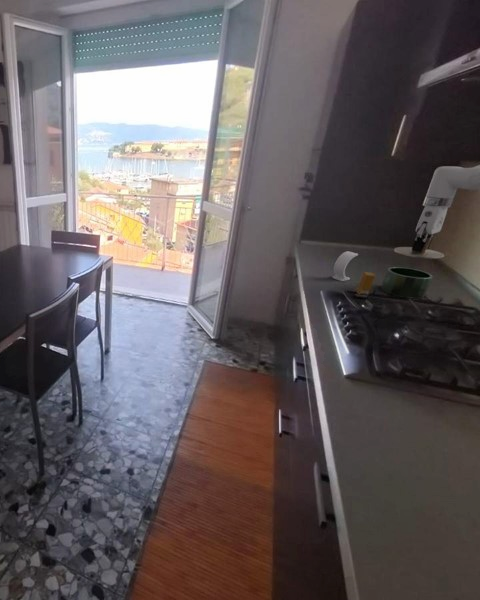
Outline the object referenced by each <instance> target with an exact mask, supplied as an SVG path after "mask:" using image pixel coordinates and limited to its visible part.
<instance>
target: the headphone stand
mask: <svg viewBox="0 0 480 600" xmlns="http://www.w3.org/2000/svg"><path fill="white" fill-rule="evenodd" d="M358 256H359V253H356V252H352V251H349V250H348V251H344V252H343V253H342V254H340V255H339V257H338V258H337V259H336V261H335V263H334V265H333V274H334V275H332V277H331V278H332V279H335V280H337V281H340V282H345V281H350V280H351V277H348V276H346V268H347V266H348V264H349V263H350V261H351V260H353V258H355V257H358Z"/></svg>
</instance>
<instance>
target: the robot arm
mask: <svg viewBox="0 0 480 600" xmlns="http://www.w3.org/2000/svg"><path fill="white" fill-rule="evenodd" d="M458 189H462V190H469V191H478V190H480V164H479V165H476V166H473V167H461V166H454V165H453V166H451V165H450V166H449V165H447V166H446V165H445V166H443V165H442V166H438V167H437V168H436V169H435V170H434V172H433V175H432V178H431V181H430V183H429V187H428V189H427V192H426V195H425V197H424V200H423V203H422V206H424V208H423V210H422V212H421V215H420V217H419V219H418V221H417V225H416V227H415V232H416V236H415V238H414V241H413V244H412V246H411V247H412V251H417V252H422V251H423V249H424V246H425V244H426V242H425V241H426V238H431V240H430V243H429V245H428V248H427V250H429V247H430V245H431V242H432V240H433V237H434V234H437V233H440V232H441V230H442V228H443V224H444V222H445V218H446V216H447V213H448V208H451V206H452V204H453V201H454V198H455V195H456V193H457V191H458Z"/></svg>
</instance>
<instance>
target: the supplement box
mask: <svg viewBox="0 0 480 600" xmlns="http://www.w3.org/2000/svg"><path fill="white" fill-rule="evenodd" d="M376 276H377V275H376V274H374V273H373V272H367V271H364V272H363V274H362V277H361V279H360V282H359V284H358V287H357V289H356V292H357V293H358V294H367V295H368V296H369V295H370V292H371V289H372V287H373V283H374V281H375V278H376ZM356 295H357V294H356V293H355V296H356Z"/></svg>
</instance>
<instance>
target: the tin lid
mask: <svg viewBox="0 0 480 600" xmlns="http://www.w3.org/2000/svg"><path fill="white" fill-rule="evenodd" d="M430 240H431V241H432V239H431V238H426V241H425V242H426V244H425V246H424V249H423V251H422V252H417V251H412V247H413V246H398V247H395V248H393V249H394V250H393V251H394V252H395V253H397V254H400V255H403V256H406V257H410V258H414V259H423V260H425V259H426V260H439V259H443V258H444V257H445V254H444V253H443V252H440V251H437V250H432V249H429V247H428V245H429V243H430V244H431V242H430ZM429 246H430V245H429ZM427 248H428V250H427Z"/></svg>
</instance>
